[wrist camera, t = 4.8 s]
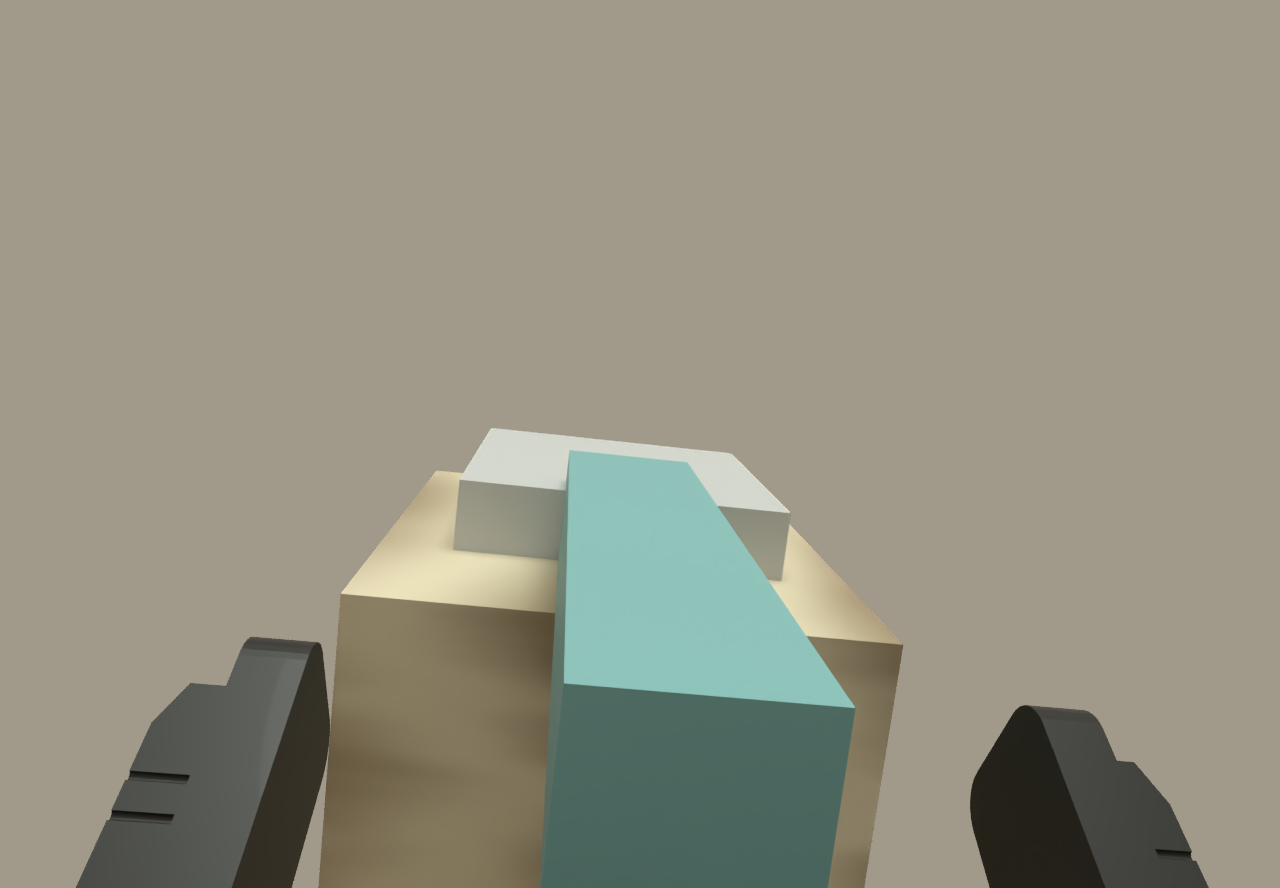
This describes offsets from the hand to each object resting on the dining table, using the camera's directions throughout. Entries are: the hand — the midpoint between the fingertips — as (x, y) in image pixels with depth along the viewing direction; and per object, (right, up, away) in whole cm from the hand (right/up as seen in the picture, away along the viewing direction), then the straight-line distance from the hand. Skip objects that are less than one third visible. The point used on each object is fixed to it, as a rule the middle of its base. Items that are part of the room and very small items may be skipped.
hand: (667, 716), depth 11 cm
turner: (-1, 0, +7) cm, 7 cm away
